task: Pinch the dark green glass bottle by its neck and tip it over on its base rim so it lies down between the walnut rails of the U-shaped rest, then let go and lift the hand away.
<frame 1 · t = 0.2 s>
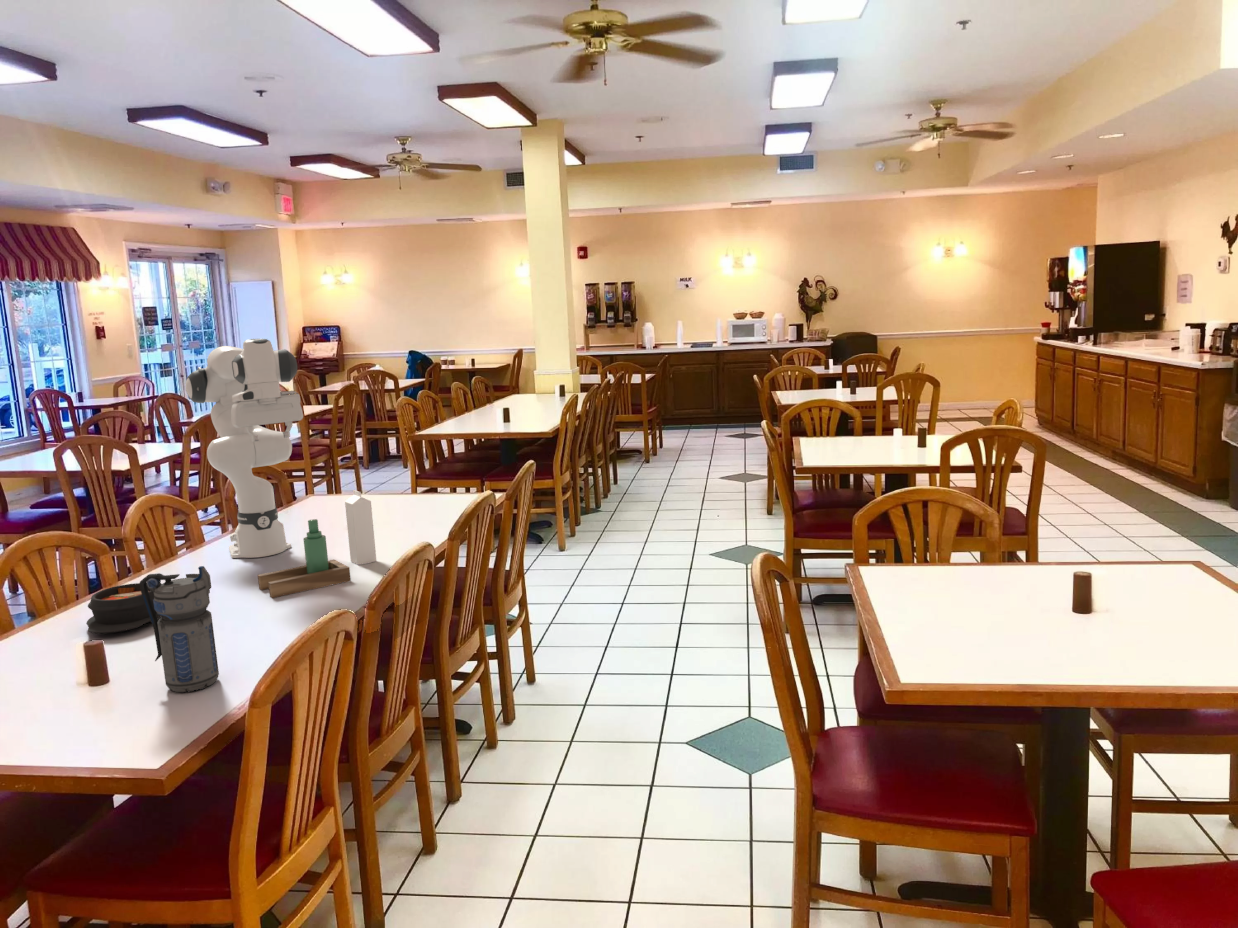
hand: (271, 439, 278), 39 cm above the table, tool pointing down, fingers open, 8 cm apart
blue striped grenade: (189, 686, 194), on the table
milk: (363, 561, 286), on the table
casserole: (129, 623, 238), on the table
bottle: (319, 581, 266), resting in u rest
u rest: (305, 584, 264), on the table
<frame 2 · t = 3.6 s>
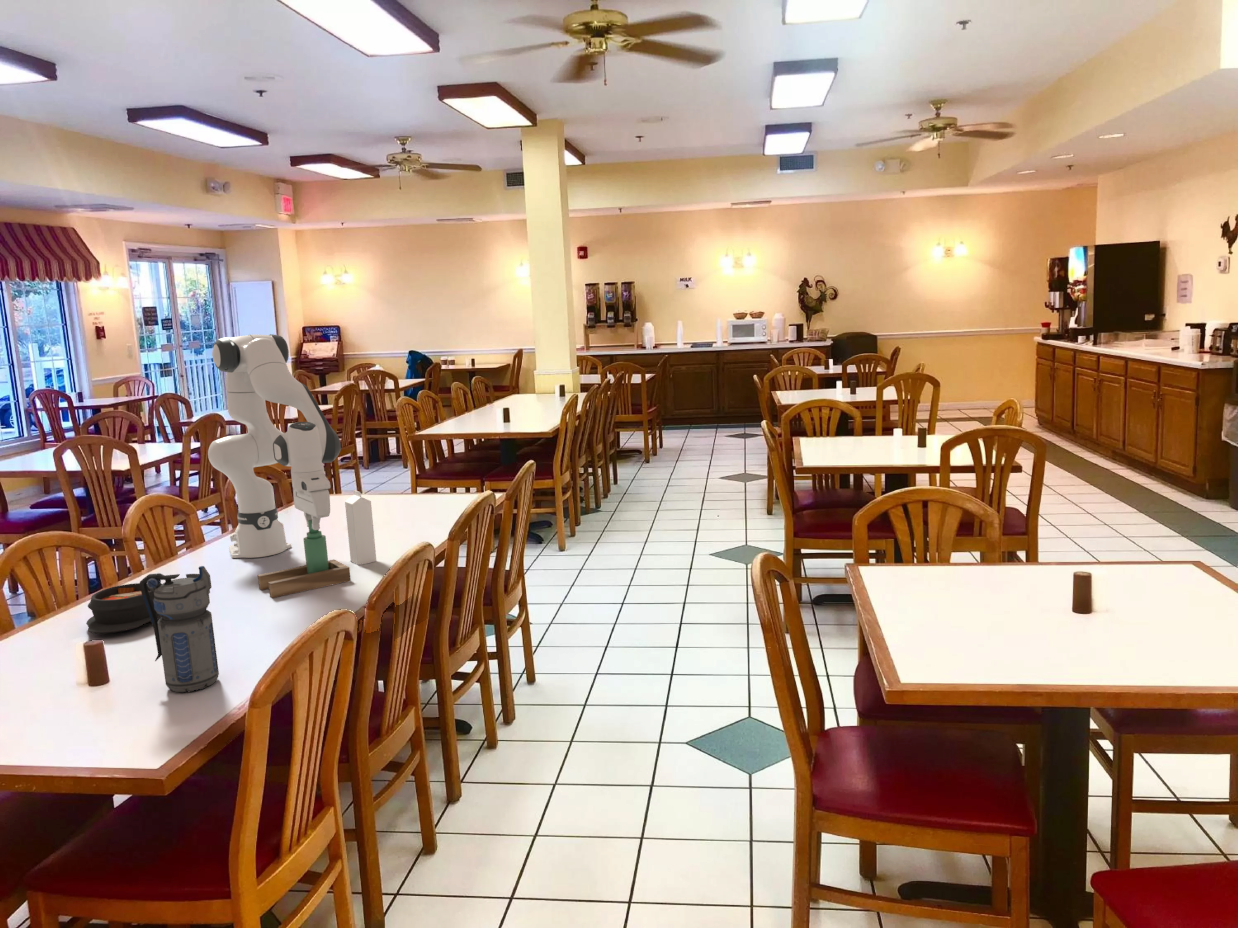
hand: (313, 528, 264), 16 cm above the table, tool pointing down, fingers closed on bottle, 3 cm apart
bottle: (319, 581, 266), resting in u rest, touching gripper
everything else where it was.
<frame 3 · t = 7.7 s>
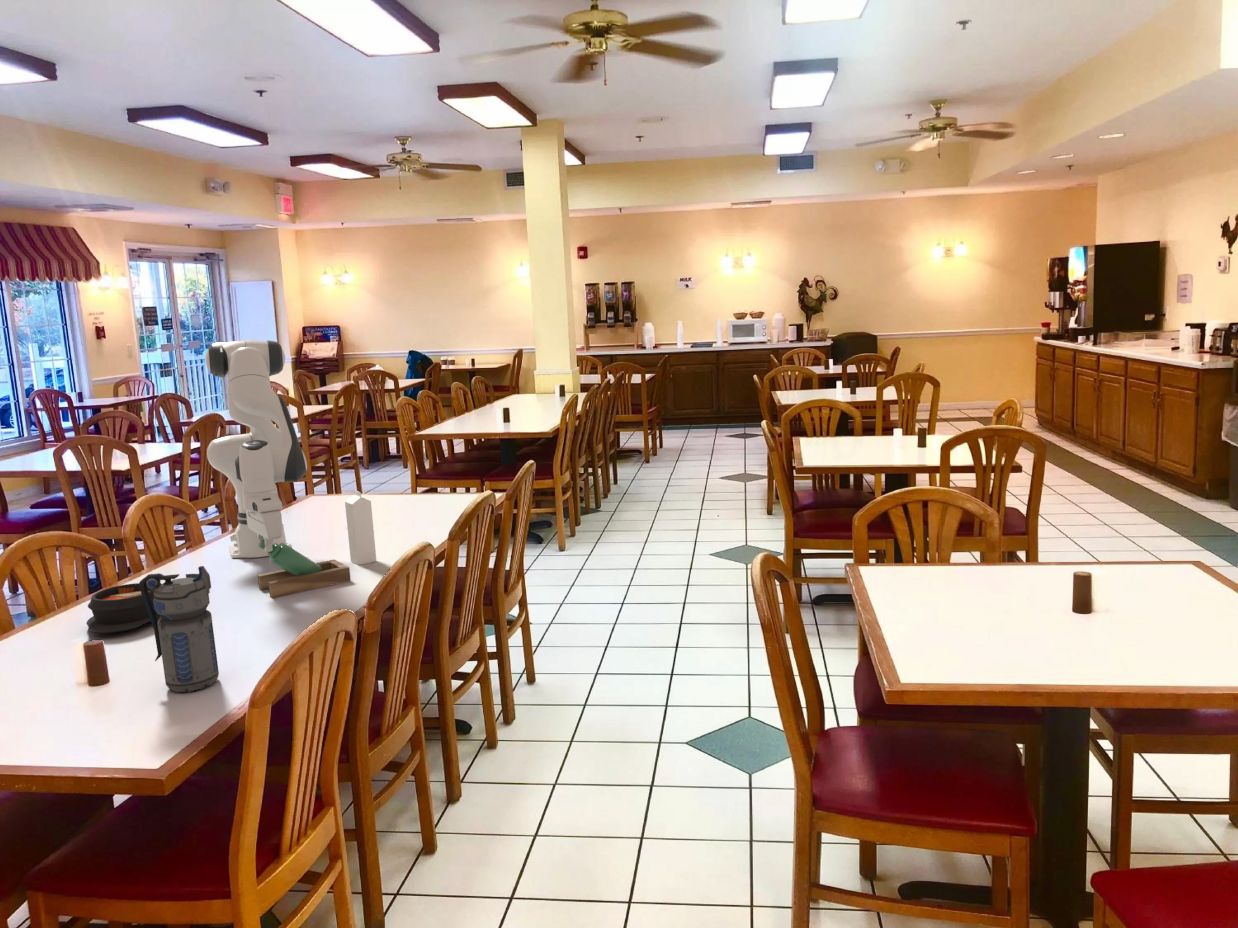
hand: (266, 549, 256), 12 cm above the table, tool pointing down, fingers closed on bottle, 3 cm apart
bottle: (314, 575, 265), point 2 cm above the table, tilted 48°, touching gripper
everything else where it was.
when the fingers open (3 cm above the table, at t = 11.7 s): bottle stays where it is, point 3 cm above the table.
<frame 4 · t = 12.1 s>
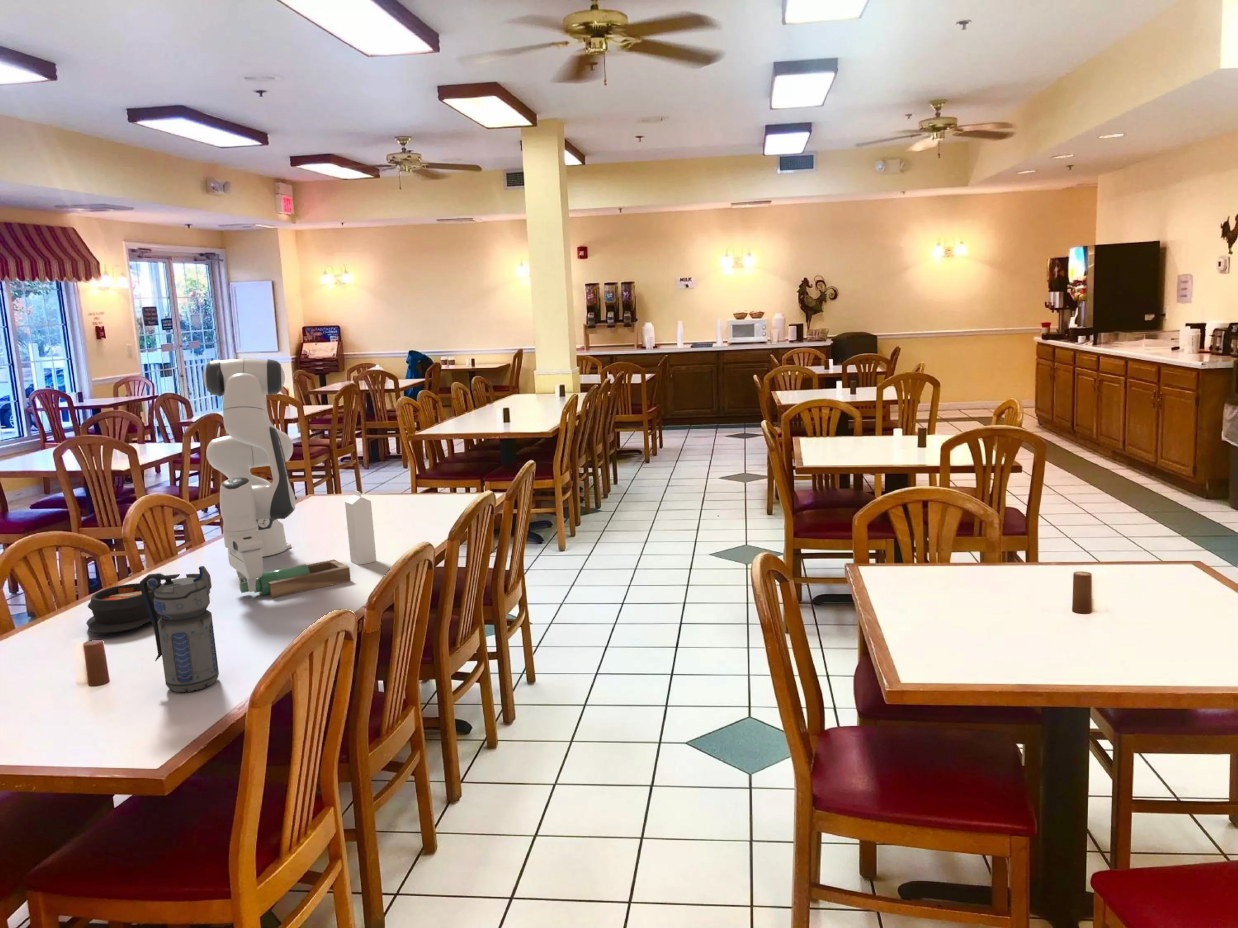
hand: (247, 587, 255), 3 cm above the table, tool pointing down, fingers open, 7 cm apart
bottle: (306, 574, 264), point 3 cm above the table, tilted 90°
everything else where it was.
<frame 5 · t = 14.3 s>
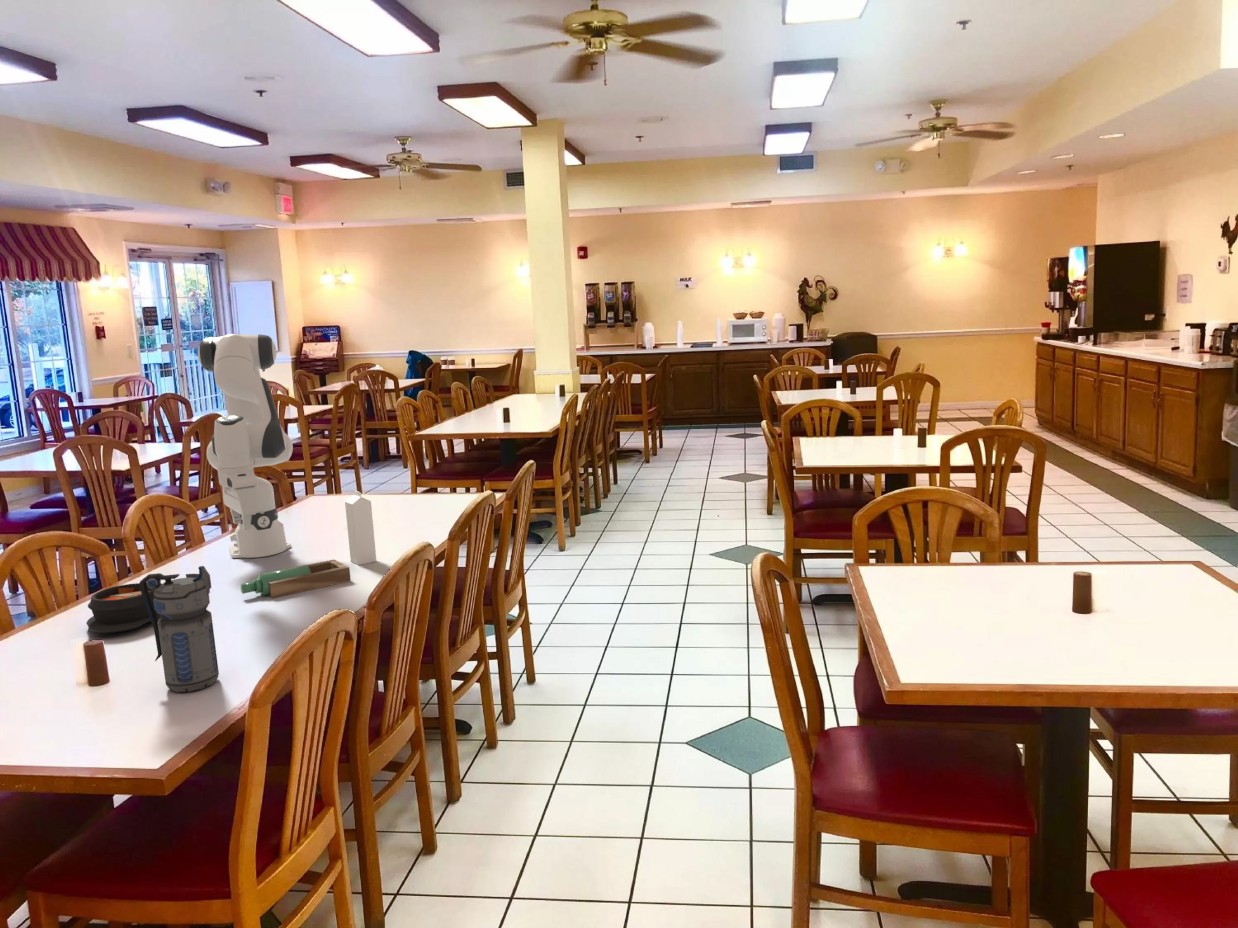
hand: (242, 526, 253), 19 cm above the table, tool pointing down, fingers open, 8 cm apart
nothing on the table moved.
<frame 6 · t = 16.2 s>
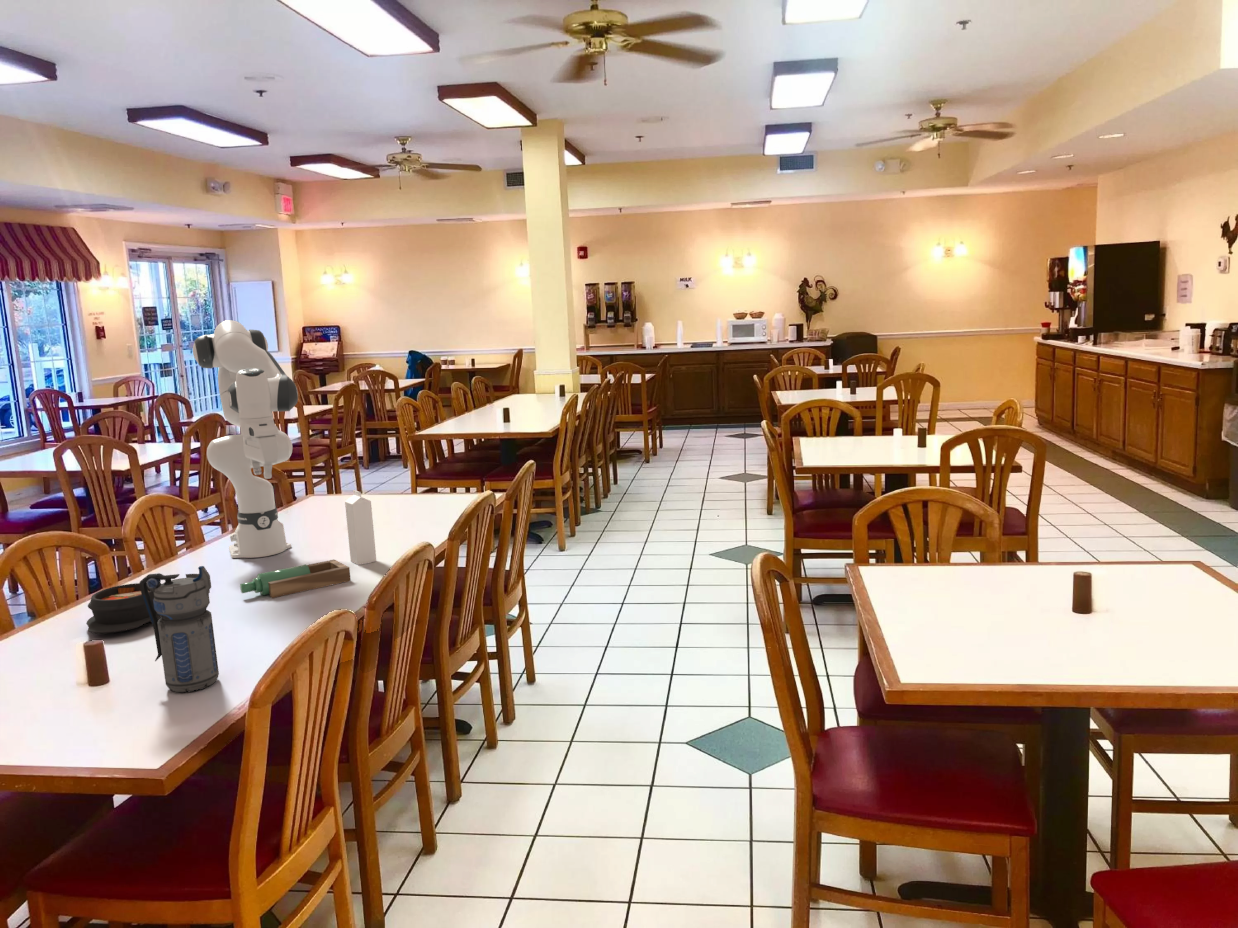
hand: (262, 476, 262), 31 cm above the table, tool pointing down, fingers open, 8 cm apart
nothing on the table moved.
at the end: bottle tilted 90°; bottle inside the target area on the u rest (0.6 cm from its centre), point 2.8 cm above the u rest's base; the gripper is holding nothing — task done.
